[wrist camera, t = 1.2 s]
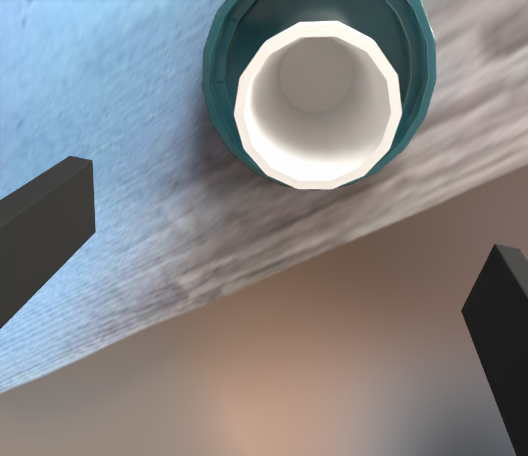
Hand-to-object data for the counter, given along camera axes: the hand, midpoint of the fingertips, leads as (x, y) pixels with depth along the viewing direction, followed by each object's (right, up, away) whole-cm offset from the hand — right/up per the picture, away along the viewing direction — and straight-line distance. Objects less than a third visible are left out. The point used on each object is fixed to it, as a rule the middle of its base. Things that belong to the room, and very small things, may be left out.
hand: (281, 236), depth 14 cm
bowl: (+4, +13, +22) cm, 26 cm away
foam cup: (+4, +13, +22) cm, 26 cm away
